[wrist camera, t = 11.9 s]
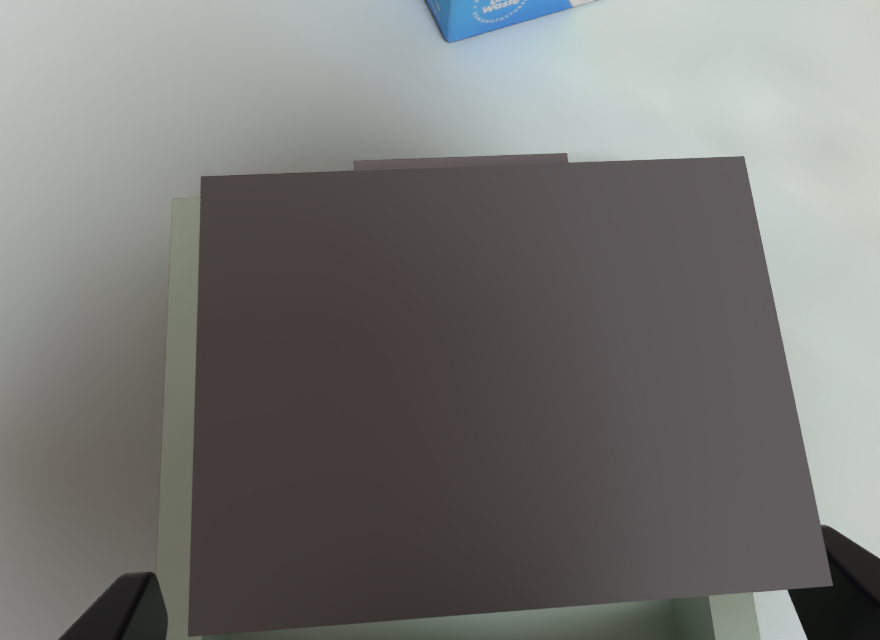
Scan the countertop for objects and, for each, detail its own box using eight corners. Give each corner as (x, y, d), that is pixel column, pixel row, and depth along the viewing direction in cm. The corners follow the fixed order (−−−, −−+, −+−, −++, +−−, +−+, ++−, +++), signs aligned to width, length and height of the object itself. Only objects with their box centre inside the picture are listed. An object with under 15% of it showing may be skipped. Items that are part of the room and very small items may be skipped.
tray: (716, 702, 18) (777, 739, 15) (190, 747, 17) (146, 796, 14) (642, 226, 21) (680, 180, 18) (205, 244, 20) (172, 198, 17)
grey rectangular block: (579, 546, 18) (832, 585, 7) (320, 564, 17) (187, 637, 7) (552, 317, 19) (728, 78, 9) (315, 329, 19) (204, 94, 8)
